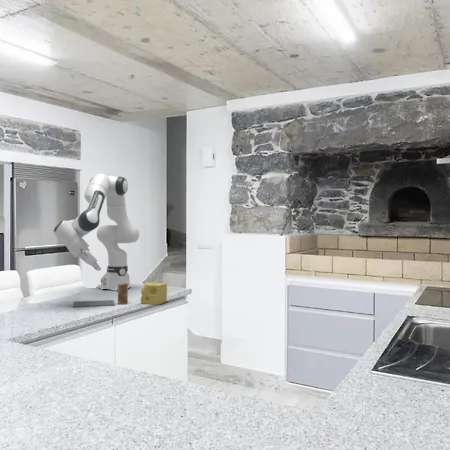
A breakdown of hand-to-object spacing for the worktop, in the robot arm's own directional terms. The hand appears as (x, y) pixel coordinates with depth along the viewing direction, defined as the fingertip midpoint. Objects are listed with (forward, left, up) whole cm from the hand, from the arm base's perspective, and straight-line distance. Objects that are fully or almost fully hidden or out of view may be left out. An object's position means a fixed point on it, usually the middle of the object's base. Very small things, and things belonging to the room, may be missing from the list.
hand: (98, 269), depth 231 cm
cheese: (+12, +25, -18) cm, 33 cm away
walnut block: (+4, +11, -18) cm, 22 cm away
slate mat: (-3, -1, -18) cm, 18 cm away
